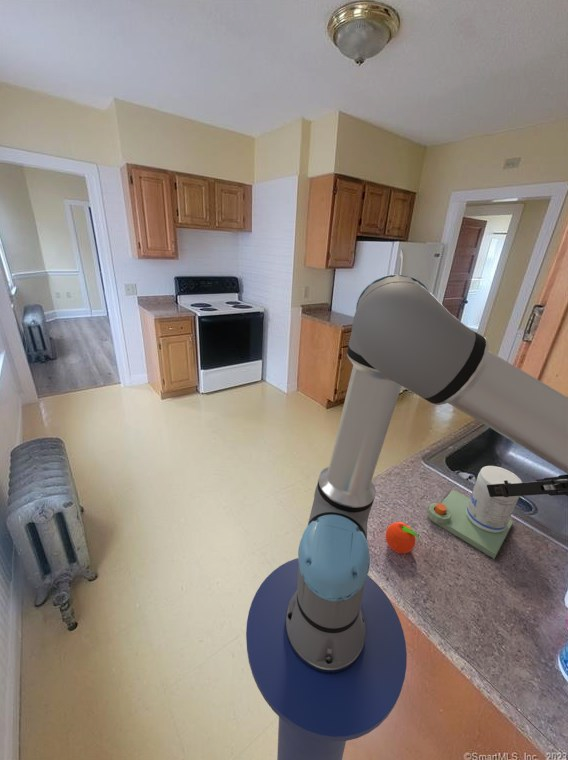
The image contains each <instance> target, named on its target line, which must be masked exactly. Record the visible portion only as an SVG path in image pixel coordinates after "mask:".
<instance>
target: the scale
mask: <svg viewBox="0 0 568 760" xmlns="http://www.w3.org/2000/svg"><path fill="white" fill-rule="evenodd" d="M469 499H470V497H468V496H466V495H464V494H463V493H460V492H458V491H457V490H454V489H451V491H450V492H449V493H448V495H447V496H446V497H445V498H444V499H443V500H442V501H441V504H443V505H445V506H446V508H447V509H446V513H445V515H439V514H437V513H436V512H435V507H436V504H438V503H439V502H434V503H430V505H429V506H428V509H427V515H428V516H429V520H430V521H431V522H432V523H435V524H436V525H437V526H439V527H441V528H442V529H444V530H446V531H447V532H449V533H451V534H452V535H454V536H456V537H457V538H459V539H460V540H462V541H464V542H466V544H467V543H468V544H469V545H470V546H471V547H474V548H476V549H477V550H479V551H480V552H482V553H484V554H485V555H487V556H489V557H491V558H492V559H496V557H497V555H498V553H499V551H500V549H501V547H502V545H503V543H504V542H505V539H506V538H507V536H508V534H509V532H510V530H511V528H512V526H513V523H514V520H512V519H511V518H510V519H509V521H508V524H507V526H506V528H505V529H504V530H503V531H502V532H498V533H493V532H488V531H485V530H483V529H481V528H479V527H477V526H476V525H475V524H473V523H472V522H471V521H470V519H469V518H468V516H467V514H466V508H467V505H468V502H469Z"/></svg>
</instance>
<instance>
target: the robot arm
mask: <svg viewBox="0 0 568 760" xmlns="http://www.w3.org/2000/svg"><path fill="white" fill-rule="evenodd" d="M352 318H353V319H352V323H351V324H352V326H351V327H352V328H351V332H350V336H349V342H348V346H347V350H346V356H347V359H349V361H350V363H351V364H352V369H351V372H350V377H349V381H348V385H347V386H348V387H347V389H346V394H345V399H344V402H343V406H342V410H341V415H340V420H339V423H338V427H337V431H336V436H335V440H334V445H333V448H332V453H331V457H330V460H329V464H328V466H326V467H325V468H323V469H321V471H320V473H319V475H318V480H317V484H316V486H315V490H314V494H313V495H314V496H313V502H312V506H311V510H310V513H309V518H308V522H307V526H306V528H305V529H304V531H303V532H302V536H301V539H300V541H299V544H298V545H299V546H298V551H297V556H298V557H297V558H299V559H298V563H299V567H298V583H297V591H296V592H295V594H294V595H293V596H292V598H291V600H290V602H289V604H288V608H287V612H286V634H287V638H288V641H289V644H290V646H291V648H292V650H293V652H294V653H295V655H296V656H297V657H298V659H299V660H300V661H301V662H302V663H303V664H305V665H306V666H307V667H309V668H310V669H312V670H314V671H317V672H319V673H323V674H337V673H341V672H343V671H345V670H347V669H349V668H350V667H351V666H353V665H354V664H355V662H356V661H357V660H358V658H359V657H360V655H361V652H362V650H363V646H364V641H365V635H366V626H365V620H364V616H363V613H362V611H361V608H360V606H361V601H362V596H363V591H364V585H365V580H366V578H367V575H368V574H369V572H370V565H371V563H370V562H371V557H370V548H369V543H368V524H369V523H368V521H369V517H370V513H371V510H372V507H373V504H374V501H375V498H376V494H377V491H376V490H377V489H376V486H375V484H374V482H373V481H372V480H373V477H374V474H375V471H376V469H377V464H378V462H379V459H380V455H381V453H382V449H383V445H384V442H385V439H386V436H387V434H388V430H389V427H390V423H391V421H392V417H393V414H394V411H395V408H396V405H397V402H398V399H399V395H400V392H401V389H402V387H403V388H405V389H406V390H408V391H410V392H412V393H413V394H415V395H416V396H419V397H420V398H422V399H424V400H425V401H427V402H429V403H430V404H432V405H433V406H434V405H435V406H441V405H445V404H448V405H450V406H452V407H454V408H456V409H457V410H459V411H461V412H462V413H464V414H465V415H468V416H469V417H471V418H472V419H474V420H476V421H477V422H479V423H481V424H483V425H484V426H486V427H487V428H489V429H491V430H492V431H494V432H496V433H498V434H500V435H501V436H503V437H504V438H506V439H508V440H509V441H511V442H513V443H514V444H517V445H518V446H520V447H522V448H523V449H525V450H527V451H528V452H530V453H532V454H533V455H535V456H537V457H538V458H540V459H541V460H544V461H545V462H547V463H548V464H550V465H552V466H554V467H555V468H557V469H559V470H560V471H562V472H563V473H565V474H560V475H558V476H551V477H544V478H539V479H535V481H525V482H522V483H513V484H511V483H508V481H507V480H506V481H504V483H503V484H491V485H487V489H488V492H489V495H490V497H510V496H511V497H512V496H520V497H525V496H526V497H527V496H540V495H549V496H550V497H551V496H553V497H554V496H567V497H568V396H566V395H565V394H563V393H562V392H560V391H558V390H556V389H555V388H553V387H551V386H549V385H548V384H546V383H544V381H541V380H540V379H538V378H536V377H534V376H533V375H531V374H529V373H527V372H525V371H524V370H522V369H521V368H519V367H517V366H515V365H514V364H513V363H511V362H509V361H507V360H506V359H504V358H501V356H498V355H497V354H495V353H493V352H492V351H490V346H489V341H488V339H487V338H486V337H485V336H484V335H482V334H480V333H478V332H477V331H475V330H474V329H471V328H470V327H469V326H467V325H465V324H464V323H463V322H462V321H460V319H458V318H457V317H456V316H454V315H453V313H451V312H450V311H449V310H448V309H447V308H446V306H444V305H443V304H442V303H441V302H440V301H439V300H438V299H437V297H436V296H435V295H433V293H432V292H430V291H429V289H428V287H427V286H426V285H425V284H424V283H423V282H421V281H420V280H418V279H417V278H416V277H411V276H407V275H405V274H391V275H384V276H381V277H379V278H376V279H375V280H373V281H372V282H371V283H370V284H368V285H366V287H365V288H364V289H363V290H362V292H361V293H360V295H359V297H358V299H357V301H356V305H355V313H354V316H353V317H352Z"/></svg>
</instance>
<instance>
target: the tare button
mask: <svg viewBox="0 0 568 760" xmlns="http://www.w3.org/2000/svg"><path fill="white" fill-rule="evenodd" d="M437 503H438V504H436V507H435V512H436V513H437V514H439V515H445V513H446V509H447V508H446V506H445V505H443V504H441V503H442V502H441V503H439V502H437Z"/></svg>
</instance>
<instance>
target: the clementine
mask: <svg viewBox="0 0 568 760" xmlns="http://www.w3.org/2000/svg"><path fill="white" fill-rule="evenodd" d="M416 538H417V540H419V542H421V539H420V537H419V536H418V534H417V533H416V532H415V531H414V530H413V529H412V528H411V527H410V526H409V525H408V524H407V523H404V522H400V521H397V522H396V521H395V522H393V523H391V524H390V525H388V527H387V528H386V530H385V541H386V543H387V545H388V546H389V548H390V549H391V550H393V552H395V553H398V554H407V553H409V552H411V551H412V550H413V549H414V547H415V545H416Z"/></svg>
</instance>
